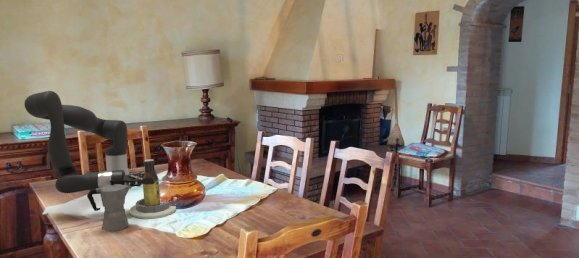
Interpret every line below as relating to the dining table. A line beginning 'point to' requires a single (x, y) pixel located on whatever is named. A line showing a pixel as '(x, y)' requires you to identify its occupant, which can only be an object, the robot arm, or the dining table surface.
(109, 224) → the coffeepot
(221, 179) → the dining table surface
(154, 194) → the sauce bottle
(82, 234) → the dining table surface
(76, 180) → the robot arm
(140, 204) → the ring tray
